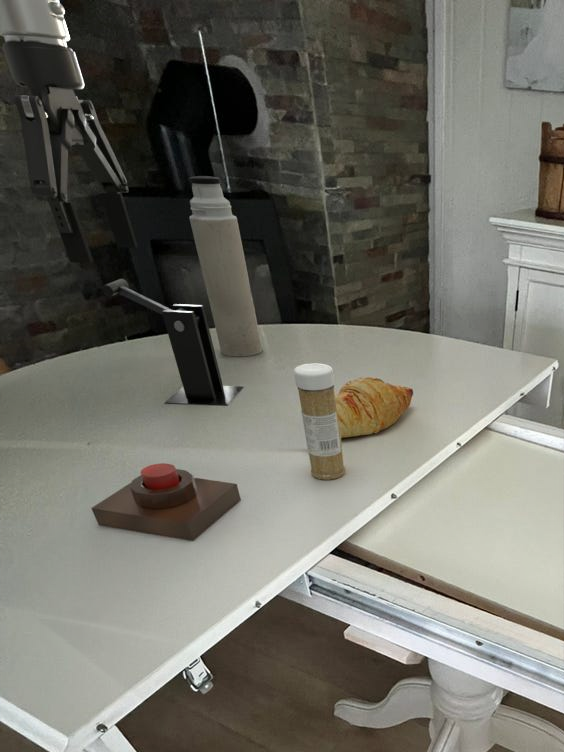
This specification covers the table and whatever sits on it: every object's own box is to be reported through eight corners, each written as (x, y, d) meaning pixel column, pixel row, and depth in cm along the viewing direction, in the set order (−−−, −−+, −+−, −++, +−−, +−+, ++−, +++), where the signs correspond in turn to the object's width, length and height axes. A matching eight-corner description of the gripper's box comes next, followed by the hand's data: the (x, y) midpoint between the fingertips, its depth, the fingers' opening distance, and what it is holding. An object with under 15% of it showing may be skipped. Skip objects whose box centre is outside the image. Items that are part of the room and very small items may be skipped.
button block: (98, 525, 67) (84, 493, 64) (154, 487, 74) (143, 456, 71) (193, 541, 65) (182, 508, 62) (241, 500, 72) (233, 469, 70)
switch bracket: (166, 410, 94) (136, 314, 85) (187, 391, 100) (161, 300, 91) (229, 412, 94) (206, 316, 85) (246, 393, 101) (226, 303, 92)
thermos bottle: (240, 343, 123) (203, 174, 105) (270, 349, 121) (238, 177, 103) (212, 352, 118) (168, 175, 99) (243, 358, 115) (204, 178, 97)
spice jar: (344, 465, 81) (331, 361, 72) (346, 480, 77) (333, 372, 69) (310, 467, 80) (293, 362, 71) (310, 482, 76) (292, 374, 68)
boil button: (138, 489, 66) (133, 474, 65) (159, 475, 69) (154, 461, 68) (167, 493, 65) (162, 478, 64) (186, 479, 68) (182, 465, 67)
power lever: (101, 296, 85) (103, 279, 84) (117, 289, 89) (119, 273, 87) (188, 338, 89) (191, 322, 87) (200, 329, 92) (203, 314, 91)
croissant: (330, 471, 87) (341, 431, 80) (284, 425, 87) (291, 381, 81) (423, 427, 100) (439, 389, 93) (382, 387, 100) (395, 346, 94)
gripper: (5, 30, 60) (89, 270, 74) (117, 54, 79) (167, 242, 93) (-69, 27, 60) (29, 268, 74) (61, 52, 79) (119, 241, 93)
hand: (106, 254), depth 84 cm, fingers open, 13 cm apart
